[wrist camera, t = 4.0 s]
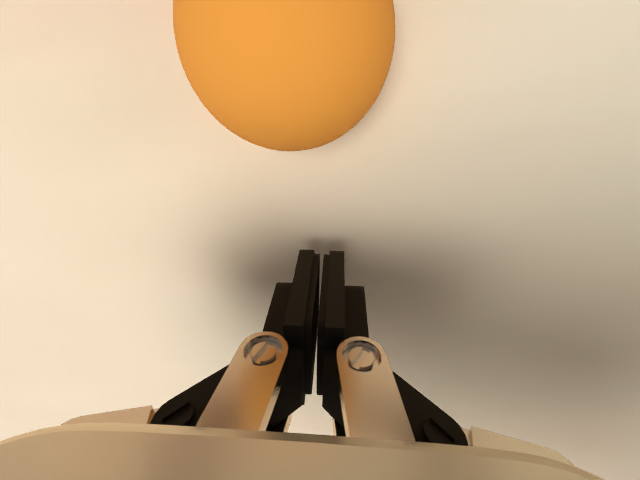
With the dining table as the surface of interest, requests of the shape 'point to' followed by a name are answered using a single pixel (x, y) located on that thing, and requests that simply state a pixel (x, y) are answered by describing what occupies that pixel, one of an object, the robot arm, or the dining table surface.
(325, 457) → the robot arm
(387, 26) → the ball
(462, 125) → the dining table surface
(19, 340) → the dining table surface
